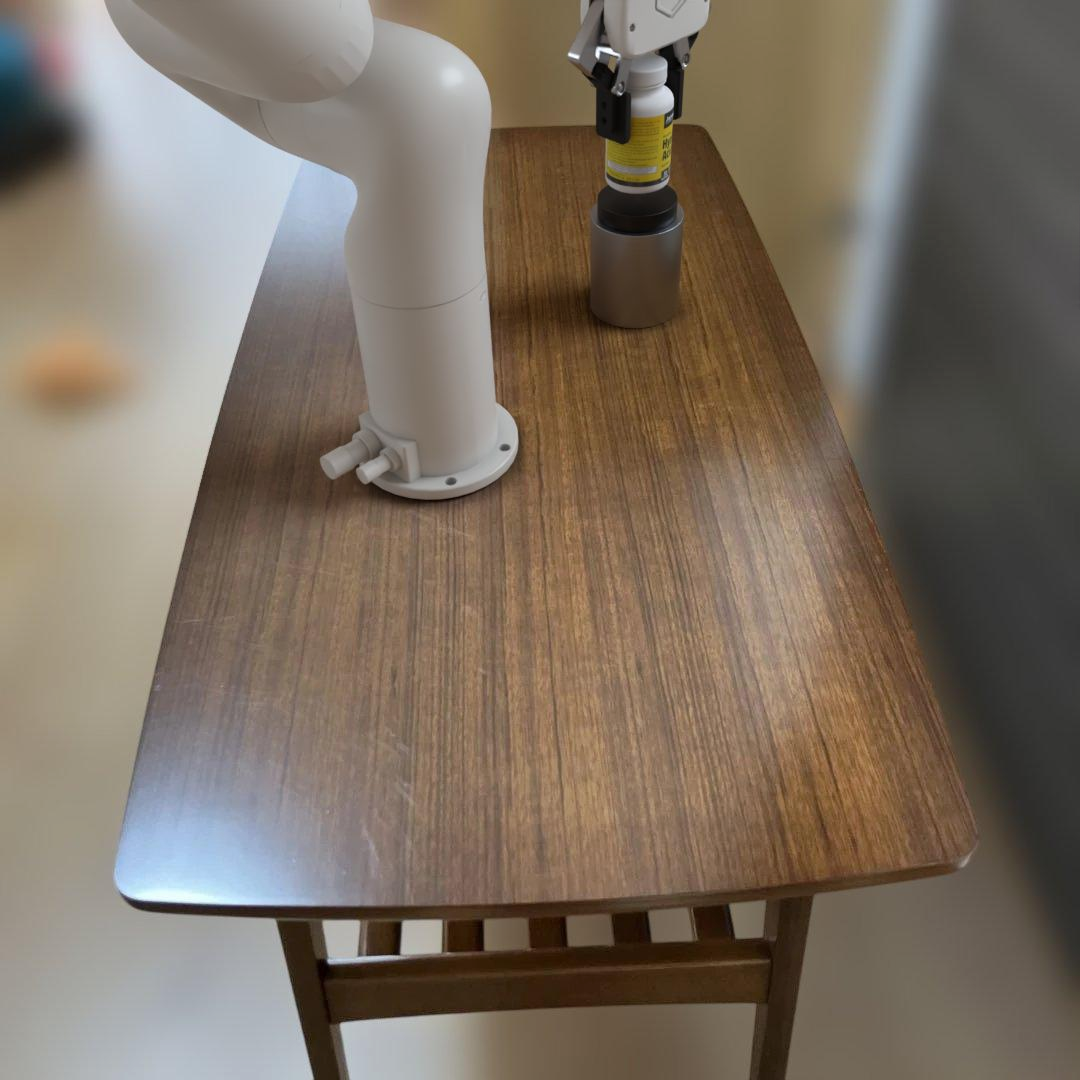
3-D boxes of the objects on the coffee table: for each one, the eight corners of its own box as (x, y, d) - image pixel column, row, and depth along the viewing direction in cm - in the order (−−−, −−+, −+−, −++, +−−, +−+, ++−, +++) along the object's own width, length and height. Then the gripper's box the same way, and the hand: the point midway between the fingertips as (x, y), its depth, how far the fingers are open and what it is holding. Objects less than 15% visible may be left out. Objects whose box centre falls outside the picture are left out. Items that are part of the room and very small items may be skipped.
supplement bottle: (672, 195, 92) (678, 74, 85) (605, 196, 92) (607, 76, 85) (667, 165, 96) (673, 48, 89) (604, 167, 96) (605, 50, 89)
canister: (637, 339, 98) (640, 229, 91) (572, 305, 102) (570, 198, 95) (696, 303, 102) (704, 195, 95) (631, 272, 106) (634, 166, 99)
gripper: (601, -91, 72) (599, 176, 84) (766, -143, 80) (742, 107, 93) (521, -111, 76) (530, 147, 88) (686, -159, 84) (673, 83, 97)
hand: (639, 124), depth 90 cm, fingers closed on supplement bottle, 5 cm apart
